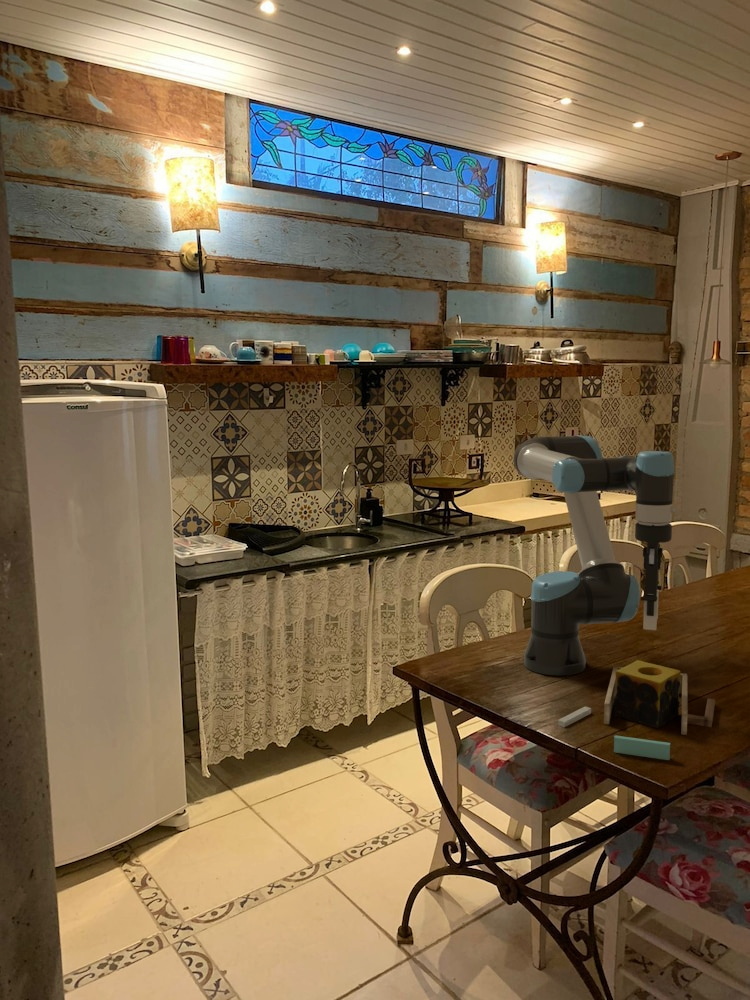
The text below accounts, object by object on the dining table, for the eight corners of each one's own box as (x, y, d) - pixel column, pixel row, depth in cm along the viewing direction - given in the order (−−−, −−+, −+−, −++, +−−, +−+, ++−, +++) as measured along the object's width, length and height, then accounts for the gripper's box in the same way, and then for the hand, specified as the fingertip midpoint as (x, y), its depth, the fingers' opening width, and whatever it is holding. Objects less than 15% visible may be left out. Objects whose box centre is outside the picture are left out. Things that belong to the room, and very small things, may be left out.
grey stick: (557, 726, 162) (558, 720, 162) (585, 712, 169) (585, 706, 169) (564, 729, 161) (564, 722, 161) (591, 714, 168) (591, 708, 168)
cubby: (604, 723, 162) (604, 703, 162) (613, 684, 183) (613, 666, 183) (686, 734, 156) (687, 713, 156) (686, 692, 178) (687, 673, 177)
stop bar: (613, 752, 150) (614, 737, 149) (614, 750, 151) (614, 735, 150) (669, 760, 146) (670, 745, 146) (669, 757, 147) (670, 742, 146)
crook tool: (686, 723, 162) (686, 716, 162) (691, 702, 172) (691, 696, 172) (711, 727, 160) (711, 720, 160) (714, 706, 170) (715, 699, 170)
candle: (612, 715, 166) (613, 671, 165) (635, 702, 173) (636, 658, 172) (658, 729, 159) (659, 683, 158) (680, 714, 166) (681, 669, 165)
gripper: (671, 531, 159) (667, 639, 162) (672, 515, 178) (669, 612, 181) (632, 529, 162) (629, 636, 165) (638, 514, 181) (635, 610, 184)
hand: (650, 623), depth 173 cm, fingers open, 8 cm apart
